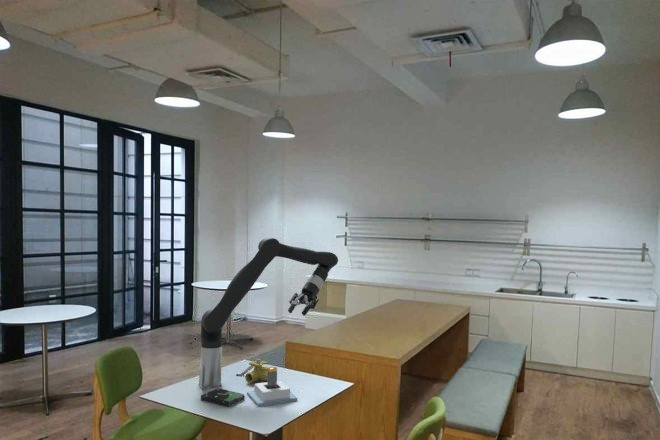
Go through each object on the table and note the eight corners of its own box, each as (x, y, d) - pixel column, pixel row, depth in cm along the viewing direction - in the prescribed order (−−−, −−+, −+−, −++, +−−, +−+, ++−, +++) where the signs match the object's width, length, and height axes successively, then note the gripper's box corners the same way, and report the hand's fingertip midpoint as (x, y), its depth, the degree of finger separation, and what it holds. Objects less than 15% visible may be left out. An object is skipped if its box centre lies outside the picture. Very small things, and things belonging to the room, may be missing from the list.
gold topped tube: (268, 396, 191) (269, 369, 192) (266, 393, 195) (266, 367, 195) (277, 395, 193) (278, 368, 193) (275, 392, 197) (275, 366, 197)
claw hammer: (248, 379, 220) (248, 377, 220) (235, 376, 222) (235, 374, 222) (264, 366, 241) (264, 364, 241) (252, 364, 242) (252, 362, 242)
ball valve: (259, 376, 223) (260, 355, 223) (276, 379, 218) (277, 358, 218) (242, 383, 212) (243, 361, 212) (260, 387, 207) (261, 364, 207)
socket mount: (257, 406, 183) (258, 394, 184) (246, 394, 197) (247, 383, 197) (297, 400, 191) (297, 389, 191) (284, 389, 204) (284, 378, 205)
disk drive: (200, 402, 188) (229, 408, 182) (200, 395, 188) (229, 401, 182) (216, 394, 198) (245, 400, 191) (216, 387, 198) (245, 393, 191)
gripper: (298, 280, 223) (281, 306, 214) (321, 282, 215) (304, 310, 205) (305, 290, 227) (288, 316, 218) (327, 293, 219) (311, 320, 209)
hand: (296, 313), depth 212 cm, fingers open, 8 cm apart
